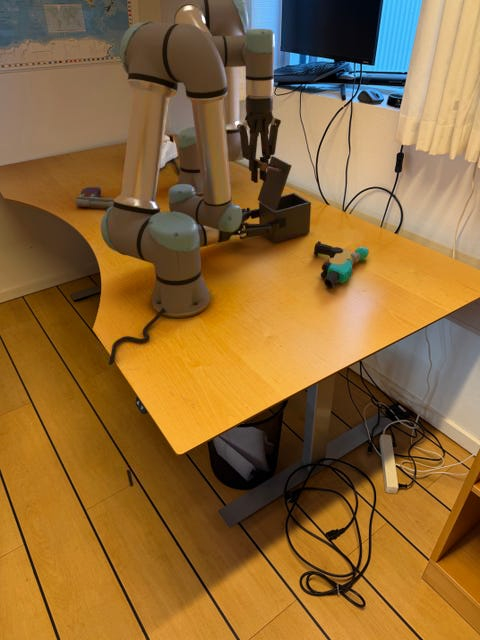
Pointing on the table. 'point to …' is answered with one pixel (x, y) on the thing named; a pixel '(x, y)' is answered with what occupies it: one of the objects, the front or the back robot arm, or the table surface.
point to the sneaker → (168, 150)
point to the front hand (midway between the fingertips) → (276, 216)
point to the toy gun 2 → (338, 262)
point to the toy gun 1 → (93, 199)
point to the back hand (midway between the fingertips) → (258, 180)
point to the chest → (287, 217)
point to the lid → (273, 181)
